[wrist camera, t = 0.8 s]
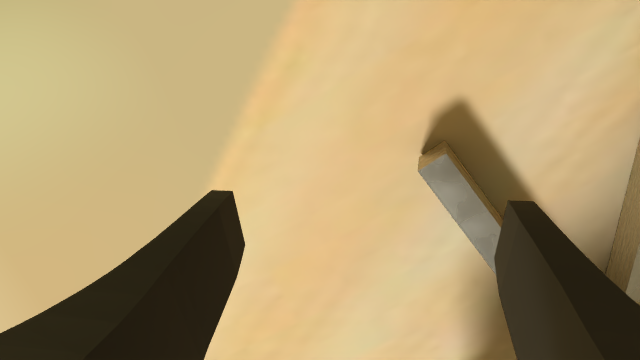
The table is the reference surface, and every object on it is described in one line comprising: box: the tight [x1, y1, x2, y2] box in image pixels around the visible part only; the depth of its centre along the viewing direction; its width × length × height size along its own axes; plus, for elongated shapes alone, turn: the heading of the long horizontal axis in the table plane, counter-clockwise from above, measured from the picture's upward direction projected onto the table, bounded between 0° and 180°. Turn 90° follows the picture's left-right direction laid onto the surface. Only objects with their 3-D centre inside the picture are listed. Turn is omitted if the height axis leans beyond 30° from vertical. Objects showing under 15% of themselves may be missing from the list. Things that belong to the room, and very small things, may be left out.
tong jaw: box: [418, 141, 503, 274], centre depth 26 cm, size 17×3×3 cm, turn 39°
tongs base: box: [606, 140, 640, 305], centre depth 24 cm, size 17×5×4 cm, turn 1°
